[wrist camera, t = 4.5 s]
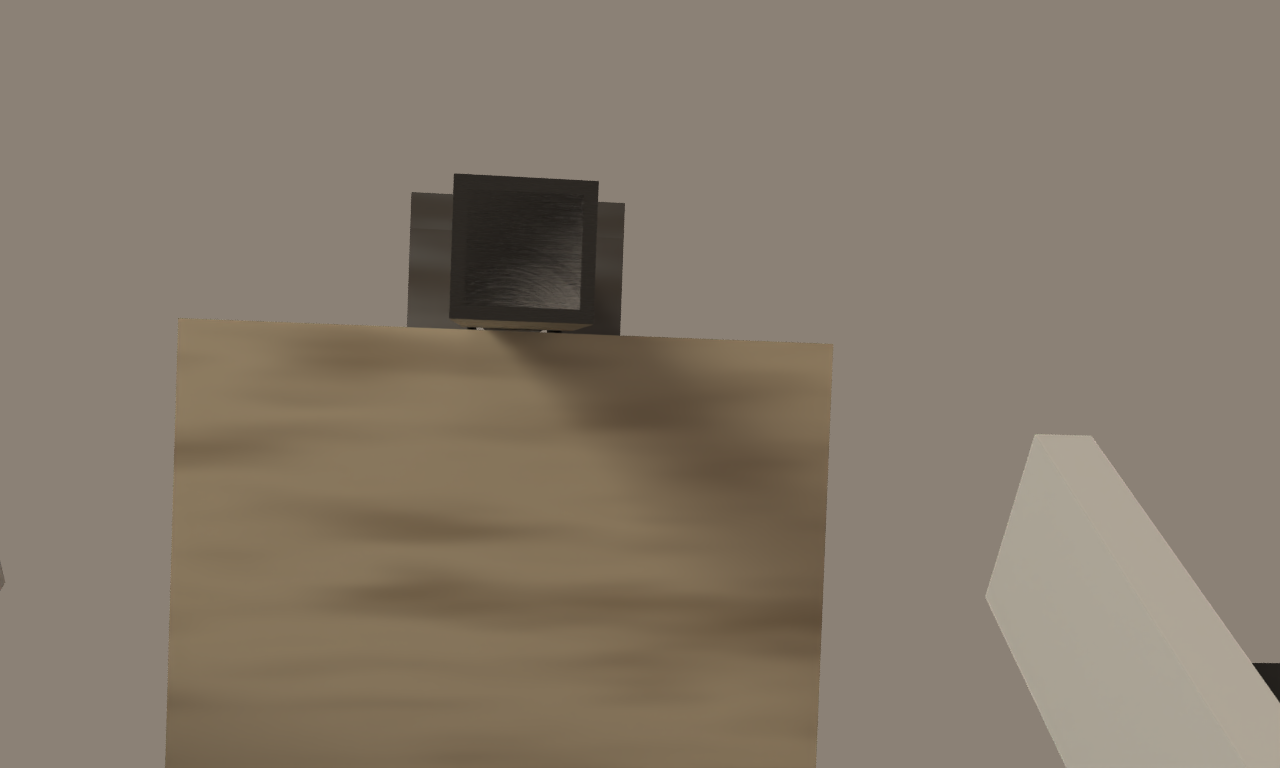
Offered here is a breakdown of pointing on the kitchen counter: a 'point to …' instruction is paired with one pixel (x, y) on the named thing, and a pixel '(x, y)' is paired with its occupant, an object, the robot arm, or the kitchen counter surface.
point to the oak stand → (495, 540)
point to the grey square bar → (523, 253)
